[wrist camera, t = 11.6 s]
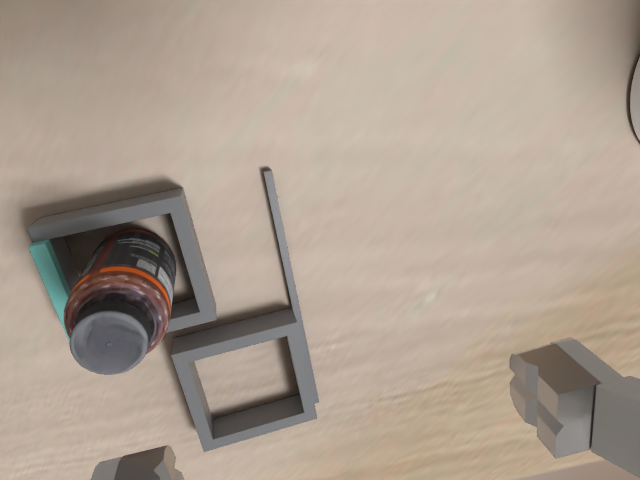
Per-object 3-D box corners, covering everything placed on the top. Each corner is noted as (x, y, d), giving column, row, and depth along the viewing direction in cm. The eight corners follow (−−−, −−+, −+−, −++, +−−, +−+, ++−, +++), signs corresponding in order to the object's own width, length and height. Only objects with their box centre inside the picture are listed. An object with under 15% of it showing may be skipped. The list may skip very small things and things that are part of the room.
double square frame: (270, 169, 35) (276, 178, 32) (317, 398, 43) (325, 422, 40) (39, 217, 33) (22, 232, 30) (135, 450, 41) (130, 481, 38)
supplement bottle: (96, 299, 35) (50, 394, 25) (91, 225, 34) (39, 295, 23) (177, 298, 37) (166, 388, 27) (177, 227, 35) (165, 294, 25)
